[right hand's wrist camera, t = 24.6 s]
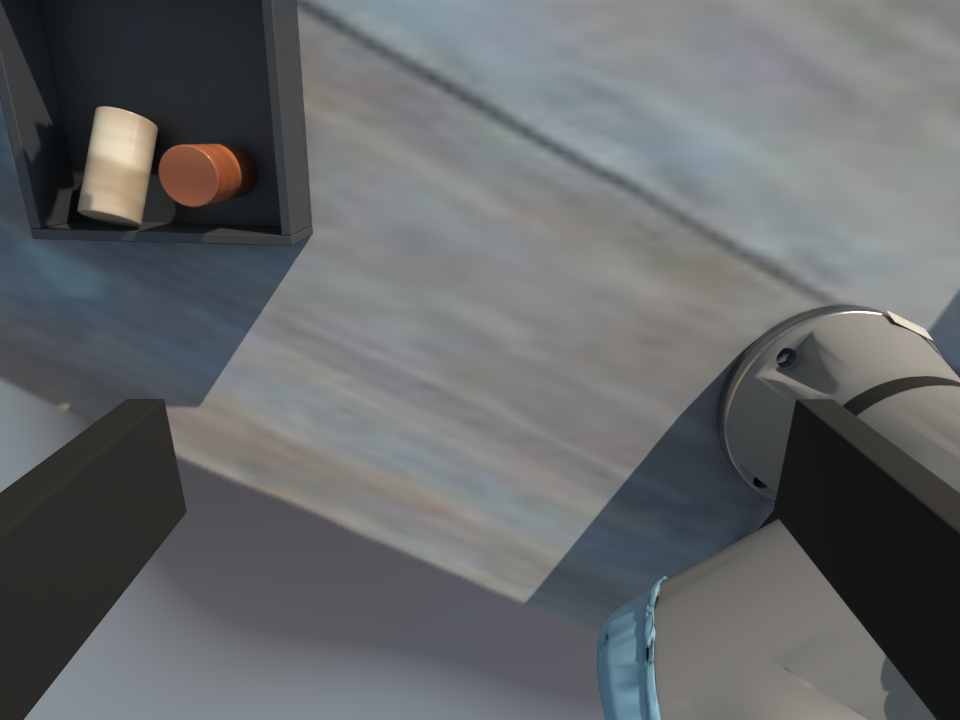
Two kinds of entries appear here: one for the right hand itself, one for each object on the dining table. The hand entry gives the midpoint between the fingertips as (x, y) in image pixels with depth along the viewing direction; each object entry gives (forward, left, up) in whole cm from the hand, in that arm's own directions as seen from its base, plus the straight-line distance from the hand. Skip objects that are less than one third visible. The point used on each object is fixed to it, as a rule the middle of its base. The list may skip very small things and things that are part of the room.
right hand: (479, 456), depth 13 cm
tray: (+13, +18, -29) cm, 36 cm away
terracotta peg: (+4, +16, -28) cm, 32 cm away
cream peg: (+7, +21, -27) cm, 35 cm away
